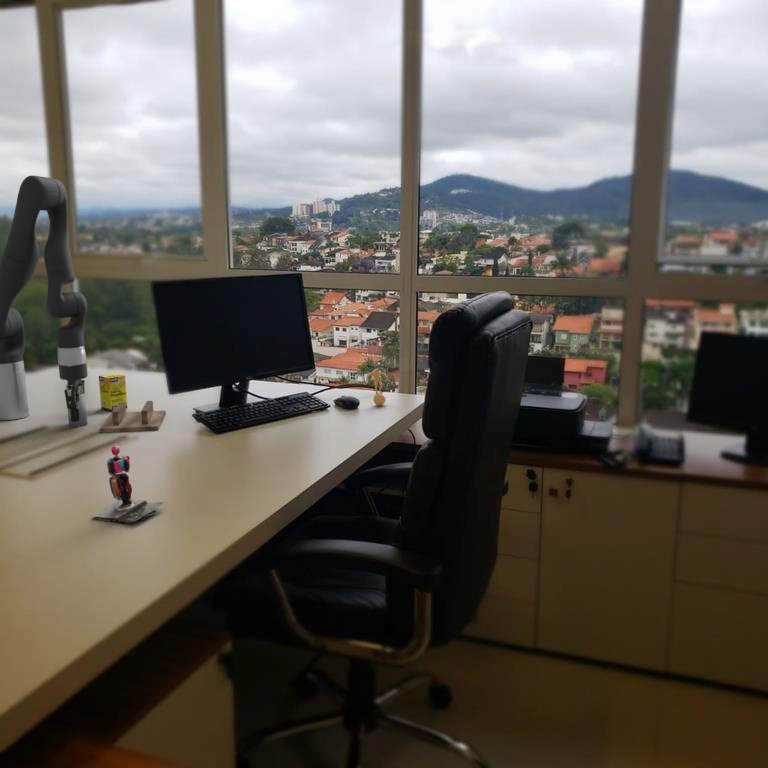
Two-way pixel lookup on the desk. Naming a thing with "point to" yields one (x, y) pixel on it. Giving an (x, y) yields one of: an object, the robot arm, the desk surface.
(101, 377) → the supplement box
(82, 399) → the grey block
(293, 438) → the desk surface
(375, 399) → the figurine
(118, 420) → the holder
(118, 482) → the statue
